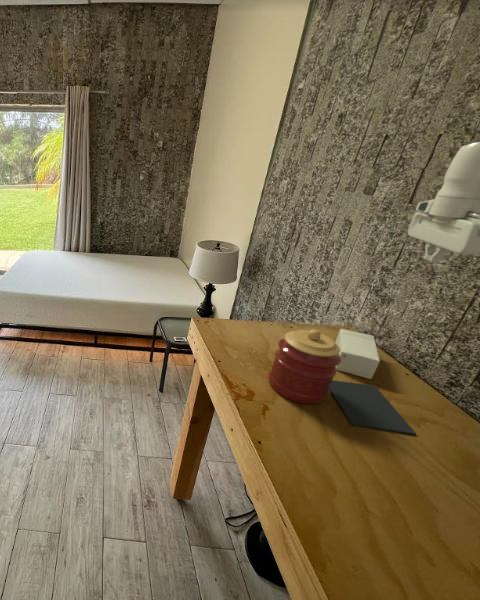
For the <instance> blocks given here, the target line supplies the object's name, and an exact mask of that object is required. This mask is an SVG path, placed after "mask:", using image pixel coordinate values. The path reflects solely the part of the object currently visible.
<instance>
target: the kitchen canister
mask: <svg viewBox="0 0 480 600" xmlns="http://www.w3.org/2000/svg"><path fill="white" fill-rule="evenodd" d="M335 342H336V341H334V340H333V339H332V338H331V337H329V336H327V335H326V334H323V333H321V332H320V331H319V329H314V328H311V329H297V330H291V331H288V332H286V333H285V334H284V337H283V338H281V339H279V341H278V344H277V345H278V349H277V350H276V351H275V353H274V360H273V363H272V366H271V369H270V370H269V374H268V382H269V385H270V386H271V388H272V389H273V390H274V391H275V392H276V393H278V394H279V395H280V396H282V397H284V398H286V399H288V400H290V401H293V402H296V403H300V404H306V405H316V404H319V403H321V402H323V401H324V400H325V398H327V396H328V394H329V392H330V391H329V387H330V384H331V382H332V380H334V377H335V376H336V374H337V371H338V370H336V366H337V365H339V364H340V362H341V357H340V355H339V352H340V348H339V346H338V345H337V344H336V343H335Z"/></svg>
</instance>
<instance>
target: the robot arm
mask: <svg viewBox="0 0 480 600" xmlns="http://www.w3.org/2000/svg"><path fill="white" fill-rule="evenodd" d="M415 210H416V212H415V213H414V215H413V217H412V219H411V221H410V224H409V226H408V229H407V234H408V236H409V237H411V238H414V239H417V240H419V241H421V242H425V245H424V252H425V254H424V256H423V260H424V261H426V262H429V263H431V264H439V263H440V262H441V259H442V258H443V257H444V256H446V255H447V254H448V253H449V252H452V253H455V254H458V255H465V256H467V255H468V256H476V255H478V254H480V214H478V213H479V211H480V138H478V139H474V140H471V141H469V142H467V143H465V144H463V145H462V146H461V147H460V149H458V151H457V153H456V154H455V156H454V157H453V158H452V161H451V163H450V164H449V166H448V168H447V171H446V172H445V175H444V178H443V184H442V186H441V188H440V190H439V191H438V192H437V193H436V194H435V197H434V198H432V199H428V200H425V201H420V202H418V203H417V205H416V208H415ZM435 248H436V249H435ZM435 250H436V252H435Z"/></svg>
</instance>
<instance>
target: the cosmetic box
mask: <svg viewBox="0 0 480 600" xmlns="http://www.w3.org/2000/svg"><path fill="white" fill-rule="evenodd" d="M334 342H335V343H336V344H337V345H338V346H339V348H340V352H339V355H340V357H341V362H340V364H339V365H337V366H336V370H337V371H340V372H343V373H347V374H350V375H354V376H357V377H361V378H364V379H369V380H372V378H373V376H374V375H375V372H376V371H377V369H378V366H379V364H380V362H381V360H380V356H379V351H378V349H377V348H378V347H377V344H376V341H375V336H374V335H372V334H367V333H363V332H359V331H354V330H349V329H345V328H340V329H339V331H338V333H337V336H336V339H335V341H334Z"/></svg>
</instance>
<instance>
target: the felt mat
mask: <svg viewBox="0 0 480 600" xmlns="http://www.w3.org/2000/svg"><path fill="white" fill-rule="evenodd" d="M328 392H329V393H330V395H331V396H332V398H333V399H334V400H335V402H336V404H337V405H338V406H339V409H341V411H342V413H343V414H344V416H345V417H346V419H347V420H348V422H349V423H350V425H351V426H355V427H360V428H361V427H362V428H368V429H374V430H380V431H387V432H393V433H399V434H405V435H411V436H417V432H416V431H415V430H414V429H413V428H412V427H411V425H409V424H408V421H406V419H404V417H403V416H402V415H401V413H399V412H398V410H397V409H396V408H395V407H394V406H393V405H392V404H391V402H390V401H389V400H388V399H387V398H386V397H385V395H383V393H382V392H381V391H380V390H379V388H377V386H376V385H373V384H365V383H364V384H363V383H356V382H350V381H349V382H348V381H340V380H334V379H332V382H331V384H330V387H329V391H328Z"/></svg>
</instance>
